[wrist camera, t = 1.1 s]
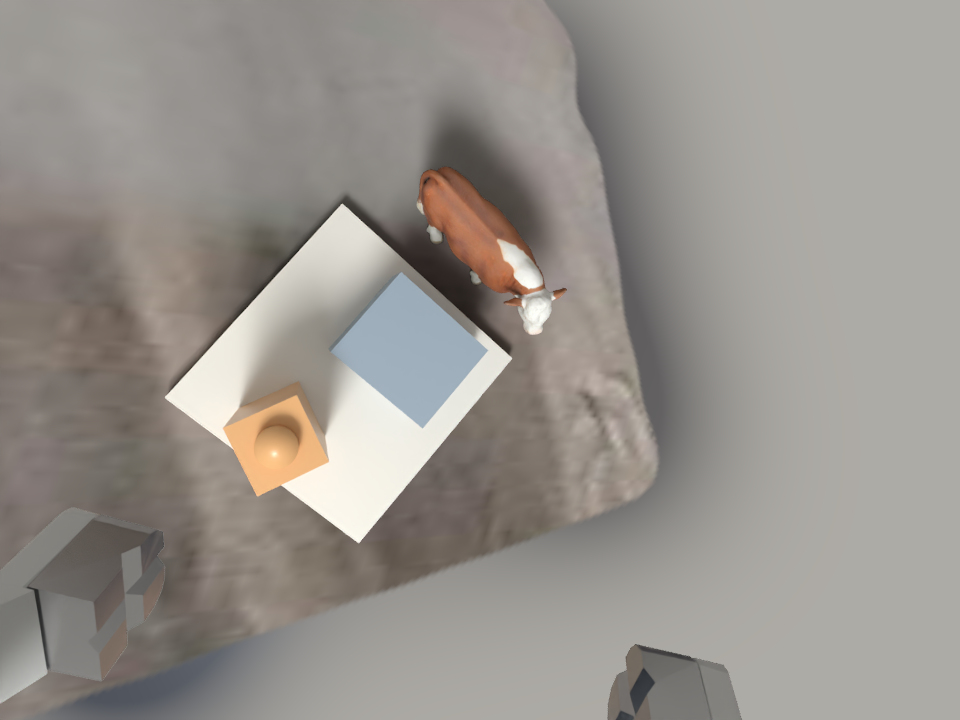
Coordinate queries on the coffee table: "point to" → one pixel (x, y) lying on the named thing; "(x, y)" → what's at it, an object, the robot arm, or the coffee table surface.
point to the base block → (408, 349)
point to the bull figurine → (485, 243)
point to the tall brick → (277, 438)
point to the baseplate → (331, 373)
